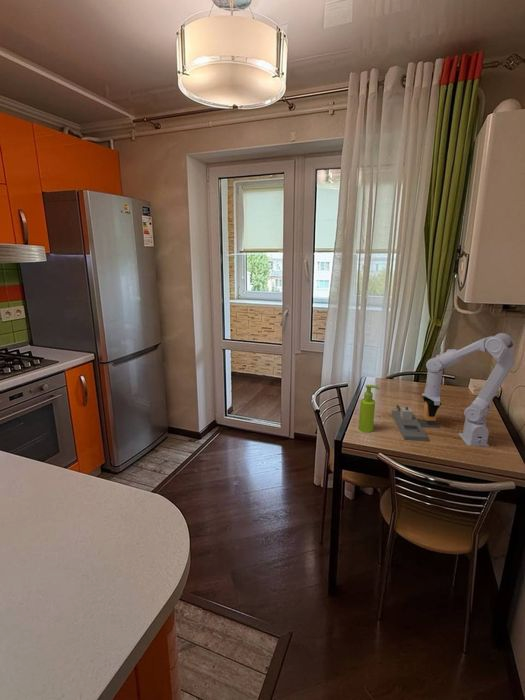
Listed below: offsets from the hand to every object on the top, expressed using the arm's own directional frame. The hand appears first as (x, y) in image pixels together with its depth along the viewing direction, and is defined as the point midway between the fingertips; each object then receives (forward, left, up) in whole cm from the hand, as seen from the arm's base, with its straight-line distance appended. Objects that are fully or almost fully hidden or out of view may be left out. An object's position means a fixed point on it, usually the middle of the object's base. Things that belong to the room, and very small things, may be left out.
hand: (429, 414), depth 161 cm
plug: (0, 0, -2) cm, 2 cm away
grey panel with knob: (0, +10, -5) cm, 11 cm away
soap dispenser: (-8, +28, -5) cm, 29 cm away
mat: (0, 0, -5) cm, 5 cm away
